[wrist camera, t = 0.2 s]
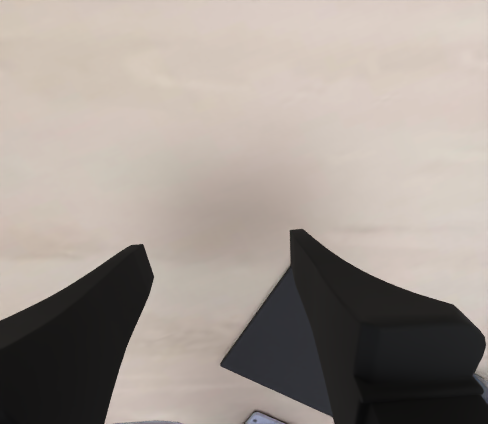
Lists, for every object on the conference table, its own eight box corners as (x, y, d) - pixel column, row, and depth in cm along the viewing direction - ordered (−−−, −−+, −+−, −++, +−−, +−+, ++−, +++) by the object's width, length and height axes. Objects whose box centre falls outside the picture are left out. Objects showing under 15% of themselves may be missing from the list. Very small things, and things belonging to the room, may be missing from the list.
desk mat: (362, 427, 30) (363, 431, 30) (220, 363, 27) (220, 366, 27) (455, 337, 26) (458, 340, 26) (301, 250, 23) (302, 252, 23)
